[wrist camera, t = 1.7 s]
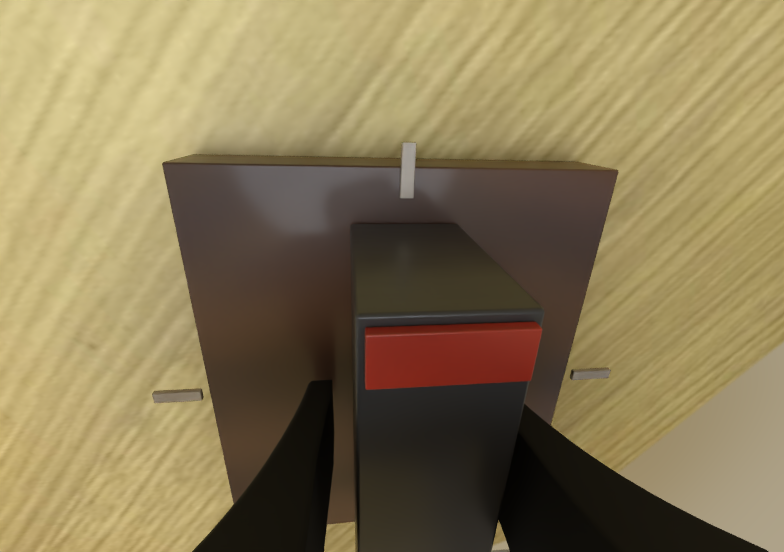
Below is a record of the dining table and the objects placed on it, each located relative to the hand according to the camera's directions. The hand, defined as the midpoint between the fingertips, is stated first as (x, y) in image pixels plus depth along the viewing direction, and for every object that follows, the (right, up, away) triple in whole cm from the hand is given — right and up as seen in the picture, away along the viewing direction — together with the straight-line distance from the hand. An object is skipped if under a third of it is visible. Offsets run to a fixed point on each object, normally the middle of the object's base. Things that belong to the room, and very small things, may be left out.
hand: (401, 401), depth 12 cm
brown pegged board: (0, +1, +3) cm, 3 cm away
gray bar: (0, 0, +1) cm, 1 cm away
